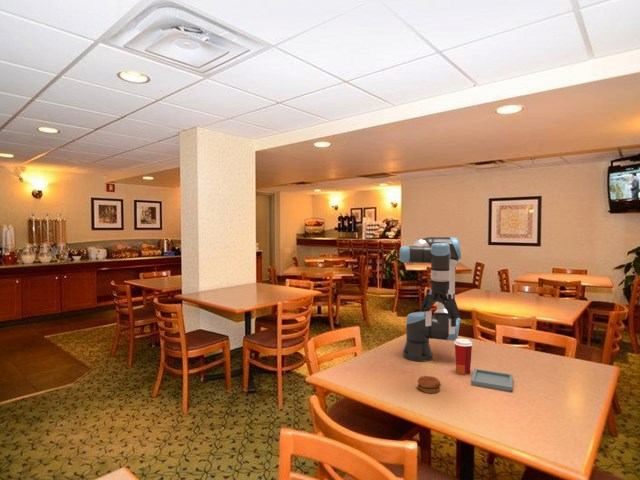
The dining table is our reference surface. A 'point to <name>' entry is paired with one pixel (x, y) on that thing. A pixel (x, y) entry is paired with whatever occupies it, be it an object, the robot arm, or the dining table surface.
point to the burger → (429, 384)
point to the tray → (492, 380)
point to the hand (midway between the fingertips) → (439, 329)
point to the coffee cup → (463, 355)
